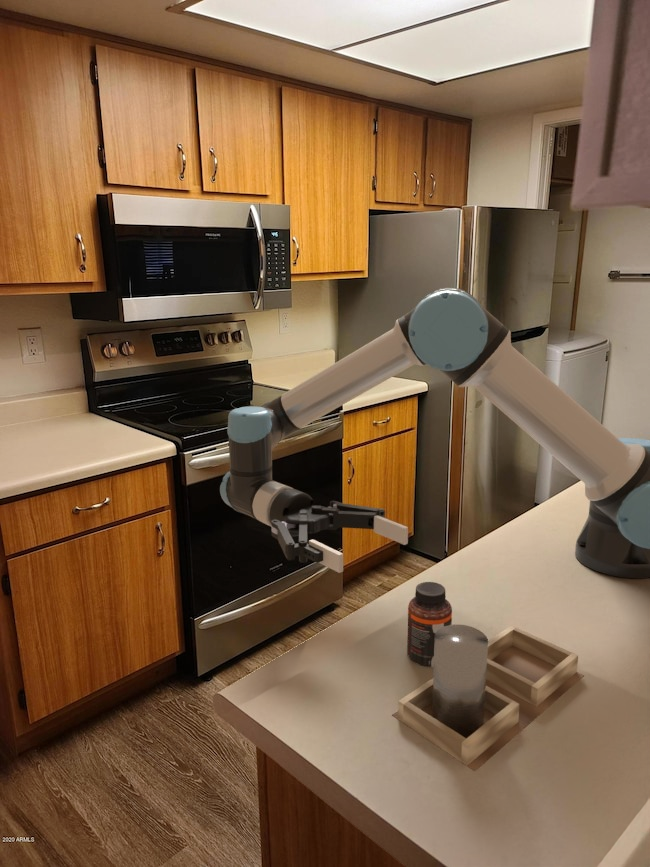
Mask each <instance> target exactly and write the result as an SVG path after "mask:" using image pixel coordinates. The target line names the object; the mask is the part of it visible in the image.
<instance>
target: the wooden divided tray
mask: <svg viewBox="0 0 650 867" xmlns="http://www.w3.org/2000/svg"><path fill="white" fill-rule="evenodd" d="M578 662H579V655H578V654H576V653H574V652H571V651H569V650H567V649H566V648H564V647H560V646H558V645H556V644H554V643H551V642H550V641H547V640H545V639H543V638H541V637H538V636H537V635H534V634H532V633H530V632H527V631H525V630H523V629H521V628H519V627H516V626H515V625H510V626H508V627H507V628H505V629H504V630H502V631H500V632H499V633H498V634H496V635H495V636H493V637H491V638H490V639H488V654H487V673H486V692H485V711H484V725H483V726H482V727H480V728H479V729H478V730H477V731H475V732H474V733H473V734H472V735H470V736H469V737H468V738H465V737H463V736H461V735H460V734H458V733H457V732H455V731H454V730H452V729H450V728H449V727H447V726H446V725H444V724H443V723H441V722H439V721H438V720H436V719H435V718H433V717H432V710H433V677H432V678H431V679H429V680H427V681H426V682H425V683H423V684H422V685H420V686H419V687H417V688H416V689H414V690H413V691H412V692H410V693H408V694H406V695H405V696H404V697H402V698H401V699H400V700H398V702H397V703H398V704H397V705H398V707H397V711H395V712H394V713H392V715H391V716H392V717H394V718H395V719H396V720H399V721H400V722H401V723H403V724H404V725H406V726H407V727H409V728H410V729H412V730H413V731H415V733H417V734H419V735H420V736H422V737H423V738H425V739H426V740H428V741H429V742H430V743H432V744H434V745H436V747H437V748H440V749H441V750H442V751H444V752H445V753H447V754H448V755H450V756H452V758H455V759H456V760H458V761H459V763H462V764H464V765H465V766H466V767H468V768H469V769H470V770H472V771H473V772H476V771H477V770H478V769H480V767H482V766H483V765H484V764H486V762H488V760H489V759H491V758H492V757H493V756H494V755H495V754H496V753H498V752H499V751H500V750H501V749H502V748H503V747H505V746H506V745H507V744H508V743H510V741H511V740H512V739H514V738H515V737H516V736H517V735H518V734H519V733H521V732H522V731H523V730H524V729H525V728H526V727H527V726H529V725H530V724H531V723H533V721H534V720H535V719H537V718H538V717H539V716H540V715H541V714H543V712H544V711H546V710H547V709H548V708H549V707H550V706H551V705H553V703H555V702H556V701H557V700H558V699H559V698H561V696H563V695H564V694H565V693H566V692H567V691H569V690H570V689H571V688H572V687H573V686H574V685H575V684H577V683H578V682H579V681H580V680H581V679H582V678H583V677H584V676H585V675H584V674H581V673H580V672H577V671H578V664H579V663H578Z"/></svg>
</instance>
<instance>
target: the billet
mask: <svg viewBox="0 0 650 867" xmlns="http://www.w3.org/2000/svg"><path fill="white" fill-rule="evenodd" d="M488 641H489V639H488V637H487V636H486V634H485V633H484V632H482V631H481V630H480V629H478V628H476V627H472V626H470V625H467V624H452V625H448V626H444V627H442V628H440V629H439V630H437V632H436V633H435V638H434V667H433V677H432V678H433V710H432V717H433V718H435V719H436V720H438V721H439V722H441V723H443V724H444V725H446V726H447V727H449V728H450V729H452V730H454V731H455V732H457V733H458V734H460V735H461V736H463V737H465V738H468V737H469V736H470V735H472V734H473V733H474V732H475V731H477V730H478V729H479V728H480V727H482V726H483V725H484V711H485V692H486V673H487V654H488Z"/></svg>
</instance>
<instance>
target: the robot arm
mask: <svg viewBox="0 0 650 867" xmlns="http://www.w3.org/2000/svg"><path fill="white" fill-rule="evenodd" d="M511 335H512V333H511V330H510V329H509V328H507V327H506V326H505V324H503V323H502V322H501V321H499V319H498V318H496V317H495V316H494V315H492V314H491V313H490V312H489V311H488V310H487V309H486V308H485V307H484V306H482V305H481V304H480V302H479V301H478V300H477V299H476V297H475V296H473V295H472V294H471V293H470V292H468V291H466V290H464V289H461V288H457V287H443V288H439V289H437V290H433V291H432V292H431V293H429V294H427V295H425V296H424V297H423V298H422V299H421V300H420V301H419V302H418V303H417V305H416V306H415V307H414V308H412V309H411V310H410V311H408V312H406V313H405V314H404V315H403V316H400V317H399V318H397V319H396V320H395V323H394V326H393V328H392V329H390V330H388V331H386V332H385V333H383V334H381V335H380V336H378V337H376V338H375V339H373V340H372V341H369V342H368V343H366V344H365V345H363V346H361V347H360V348H358V349H356V350H355V351H353V352H351V353H349V354H348V355H346V356H345V357H343V358H341V359H340V360H338V361H336V362H334V363H333V364H331V365H329V366H328V367H326V368H324V369H323V370H321V371H320V372H317V373H316V374H314V375H313V376H311V377H310V378H308V379H306V380H304V381H303V382H301V383H300V384H298V385H296V386H294V387H293V388H290V389H289V390H288V391H286V392H284V393H282V395H279V396H278V397H276V398H274V399H273V400H271V401H267V402H266V403H264V404H262V405H261V406H241V407H239V408H237V407H236V408H234V409H232V410H231V411H230V412H229V413H228V418H227V419H228V420H227V435H228V436H227V437H228V453H229V471H227V473H225V475H223V477H222V481H221V483H220V486H219V493H220V496H221V499H222V500H223V502H224V503H225V504H226V505H227V506H229V507H230V508H232V509H233V510H234V511H236V512H238V513H240V514H244V515H246V516H249V517H251V518H252V519H255V520H257V521H259V522H260V523H262V524H265V525H267V526H269V527H271V536H272V538H274V539H276V540H277V541H278V544H279V546H280V548H281V550H282V552H283V554H284V556H285V558H286V559H287V561H294V560H295V557H298V561H299V563H301V564H304V563H307V562H308V560H310V561H312V562H314V563H319V564H320V565H323V566H325V567H327V568H329V569H331V570H332V571H333V572H337V573H338V574H340V573H343V572H344V553H343V552H341V551H338V550H336V549H334V548H332V547H330V546H328V545H326V544H324V543H322V542H319V541H318V540H316V539H310V540H308V534H317V533H318V532H320V531H327V530H328V531H330V530H331V531H336V530H338V529H339V528H346V529H362V530H363V529H365V530H373V533H375V534H377V535H380V536H382V537H384V538H387V539H390V540H392V541H395V542H397V543H398V544H400V545H403V546H406V545H408V543H409V526H406V525H404V524H401V523H398V522H396V521H393V520H391V519H389V518H386V510H385V509H384V508H377V507H370V506H364V505H358V504H357V505H356V504H349V503H343V502H339V501H336V500H331V501H330V502H329V506H327V507H326V506H322V505H317V504H316V502H315V500H314V499H313V498H312V497H311V495H309V494H308V493H306V492H303V491H300V490H298V489H295V488H293V487H291V486H289V485H287V484H283V483H281V482H278V481H275V479H274V480H273V453H272V452H273V449H274V448H275V447H276V446H277V445H278V444H279V443H280V442H281V441H283V440H284V439H286V438H288V437H289V436H291V435H292V434H294V433H296V432H297V431H299V430H301V429H302V428H304V427H306V426H307V425H309V424H311V423H313V422H315V421H316V420H318V419H320V418H322V417H324V416H325V415H327V414H329V413H331V412H332V411H335V410H336V409H338V408H340V407H342V406H343V405H345V404H347V403H348V402H350V401H352V400H353V399H356V398H357V397H359V396H362V395H363V394H365V393H366V392H368V391H370V390H372V389H373V388H375V387H377V386H379V385H380V384H382V383H384V382H386V381H388V380H389V379H391V378H393V377H395V376H397V375H399V374H400V373H401V372H404V371H405V370H407V369H408V368H411V367H413V366H414V365H417V366H420V367H424V366H426V365H427V366H430V367H431V368H433V369H436V370H439V371H440V372H441V373H442V374H443V375H445V376H446V377H447V378H448V379H449V380H450V381H452V382H453V383H454V384H455V385H456V386H458V387H459V388H465V387H467V388H468V387H472V388H474V389H475V390H476V391H478V392H479V393H480V394H481V395H482V396H484V397H485V398H486V399H487V400H488V401H489V402H490V403H492V405H494V406H495V407H496V408H497V409H499V410H500V411H501V412H502V413H503V414H504V415H505V416H507V417H508V418H509V419H510V420H511V421H512V422H514V423H515V424H516V425H517V426H518V427H519V428H520V429H521V430H523V431H524V432H525V434H527V435H528V436H530V437H531V438H532V439H533V440H534V441H535V442H536V443H538V445H540V446H541V447H542V448H543V449H545V451H547V452H548V453H549V454H550V455H552V457H554V458H555V459H556V460H557V461H558V462H560V463H561V464H562V465H563V466H564V467H565V468H566V469H567V470H569V471H570V473H572V474H573V475H574V476H575V477H577V478H578V479H579V480H580V481H581V482H582V483H583V484H584V496H585V497H586V498H587V499H588V501H589V508H588V516H587V519H586V521H585V522H584V525H583V526H582V528H581V531H580V533H579V534H578V536H577V539H576V543H575V550H574V555H575V557H576V559H577V560H578V562H580V563H581V564H582V565H584V566H586V567H587V568H589V569H591V570H594V571H596V572H599V573H602V574H605V575H607V576H613V577H619V578H626V579H627V578H628V579H646V578H650V439H644V438H636V437H635V438H634V437H632V438H631V437H617V436H616V435H614V433H613V432H611V431H610V430H609V429H608V428H606V427H605V426H604V425H603V423H601V422H600V421H598V420H597V419H596V418H595V416H593V415H592V414H590V412H588V411H587V410H586V409H585V408H583V407H582V406H581V404H579V403H578V402H577V401H576V400H574V398H572V397H571V396H570V395H569V394H567V393H566V392H565V391H564V390H563V389H562V388H561V387H560V386H559V385H557V383H555V382H554V381H553V380H551V378H549V377H548V376H547V375H546V374H545V373H543V372H542V371H541V370H540V369H539V368H538V367H537V366H536V365H535V364H533V363H532V362H531V361H530V360H529V359H527V358H526V357H525V356H524V355H523V354H522V353H521V352H519V350H517V349H516V348H515V347H514V346H513V345H512V339H511V338H512V336H511ZM331 518H332V519H333V521H332V523H331ZM293 537H298V543H295V541H294V539H293Z"/></svg>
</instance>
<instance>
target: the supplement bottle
mask: <svg viewBox="0 0 650 867" xmlns="http://www.w3.org/2000/svg"><path fill="white" fill-rule="evenodd" d="M414 595H415V596H414V597H413V598H412V599H410V600H409V603H408V606H407V610H408V611H407V637H406V638H407V645H406V646H407V648H406V652H407V656H408V658H409V660H410V661H412V663H414V664H416V665H418V666H422V667H426V668H428V667H429V668H434V638H435V633H436V632H437V630H439V629H440V628H442V627H444V626H448V625H453V622H452V621H453V620H452V619H453V618H452V616H453V615H452V614H453V606H452V605H451V603H450V601H449V600H447V599H446V587H445V586H443V585H442V584H440V583H438V582H434V581H424V582H420V583H418V584H416V586H415V594H414Z"/></svg>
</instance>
